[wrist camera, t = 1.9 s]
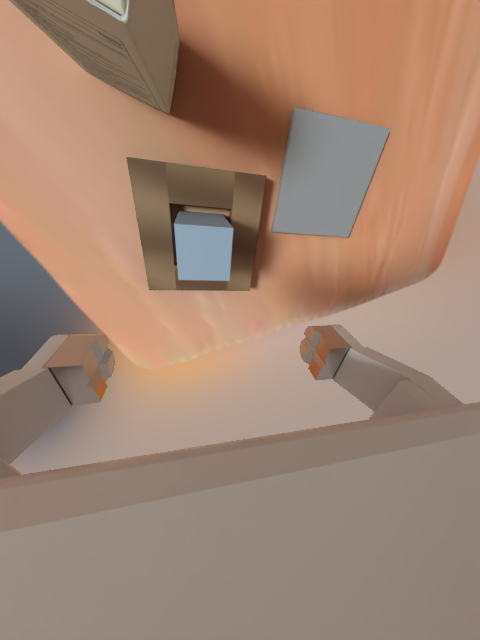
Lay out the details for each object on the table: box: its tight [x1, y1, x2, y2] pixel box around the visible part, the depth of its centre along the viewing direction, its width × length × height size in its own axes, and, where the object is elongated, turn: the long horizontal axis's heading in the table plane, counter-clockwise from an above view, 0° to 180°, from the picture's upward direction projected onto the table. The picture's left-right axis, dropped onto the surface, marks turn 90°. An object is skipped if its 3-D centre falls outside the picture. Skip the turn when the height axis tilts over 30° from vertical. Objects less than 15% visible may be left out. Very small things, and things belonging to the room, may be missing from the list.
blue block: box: [174, 211, 233, 281], centre depth 19 cm, size 4×4×7 cm
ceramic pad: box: [271, 108, 391, 237], centre depth 21 cm, size 10×10×1 cm
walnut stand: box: [127, 157, 266, 291], centre depth 22 cm, size 12×12×2 cm
